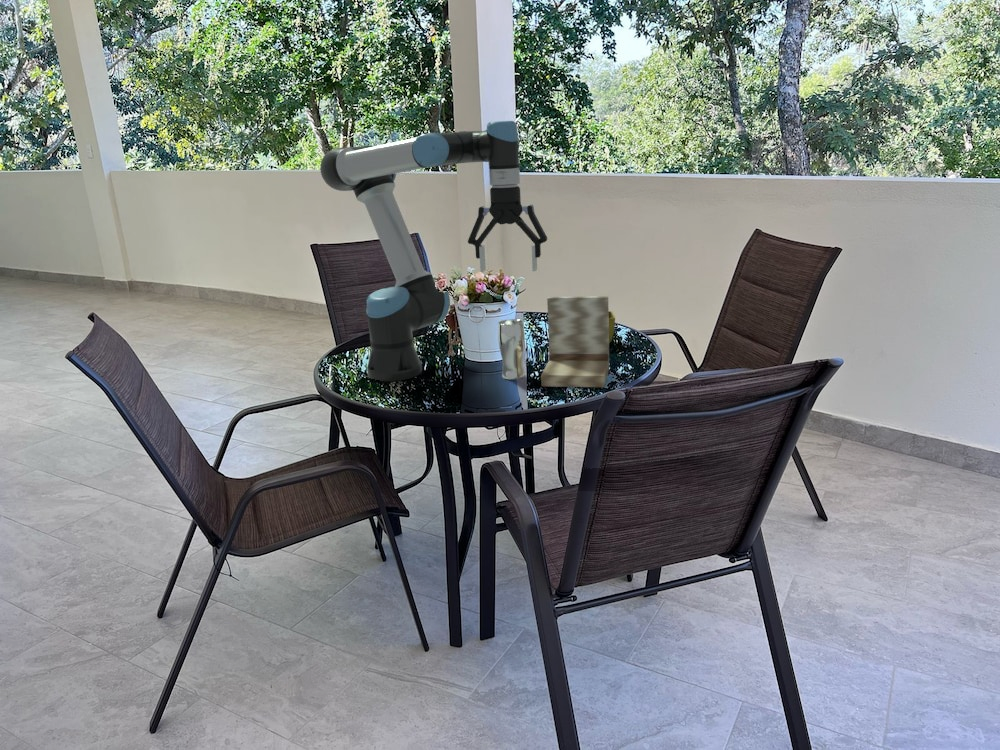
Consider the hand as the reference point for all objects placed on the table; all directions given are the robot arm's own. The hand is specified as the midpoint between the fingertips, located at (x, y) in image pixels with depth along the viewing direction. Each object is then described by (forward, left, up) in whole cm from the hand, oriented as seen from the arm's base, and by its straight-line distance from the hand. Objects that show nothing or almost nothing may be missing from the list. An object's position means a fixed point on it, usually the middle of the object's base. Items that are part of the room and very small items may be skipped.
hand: (508, 270), depth 197 cm
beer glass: (0, -1, -29) cm, 29 cm away
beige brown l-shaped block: (+17, -2, -28) cm, 33 cm away
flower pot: (+20, +32, -29) cm, 48 cm away
